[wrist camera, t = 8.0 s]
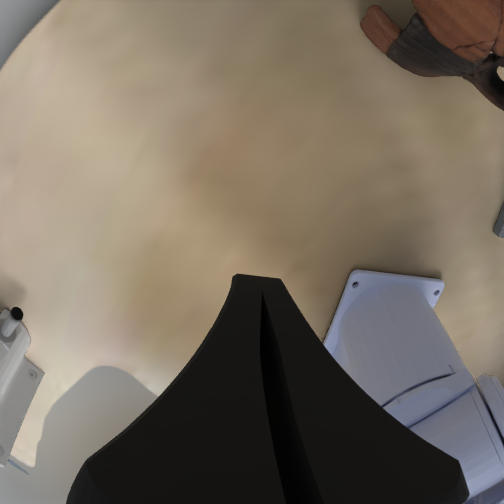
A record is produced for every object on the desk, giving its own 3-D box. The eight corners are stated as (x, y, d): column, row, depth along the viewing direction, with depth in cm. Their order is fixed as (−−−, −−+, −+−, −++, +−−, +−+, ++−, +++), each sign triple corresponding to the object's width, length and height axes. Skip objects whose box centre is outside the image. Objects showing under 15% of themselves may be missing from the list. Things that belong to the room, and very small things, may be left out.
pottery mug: (306, -1, 13) (368, -111, 5) (388, -35, 14) (446, -102, 6) (458, 165, 15) (581, 132, 6) (502, 92, 16) (584, 58, 7)
